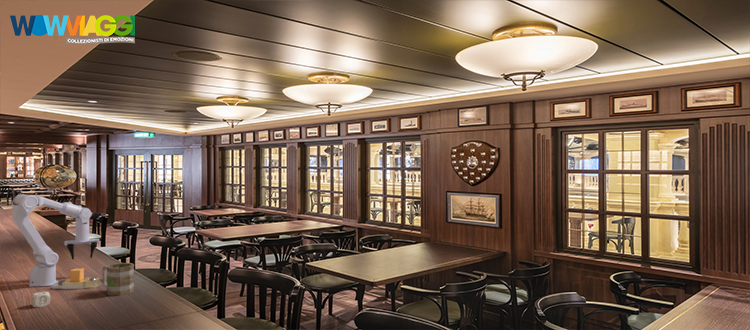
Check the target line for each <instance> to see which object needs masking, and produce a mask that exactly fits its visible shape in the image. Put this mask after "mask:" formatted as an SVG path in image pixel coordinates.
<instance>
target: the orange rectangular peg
mask: <svg viewBox="0 0 750 330" xmlns="http://www.w3.org/2000/svg"><path fill="white" fill-rule="evenodd" d="M84 278H85V268H83V267H82V268H74V269H71V270H70V271H69V279H70V282H80V281H83V280H84Z"/></svg>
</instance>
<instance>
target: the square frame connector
mask: <svg viewBox="0 0 750 330" xmlns="http://www.w3.org/2000/svg"><path fill="white" fill-rule="evenodd" d="M57 281H58V283H56V284H54V285H52V286H51V289H52V290H83V289H94V288H95V289H96V288H97V287H99V286H100V285H102V277H89V276H88V277H84V280H83V281H80V282H70V278H69V279H67V280H65V279H59V280H57Z"/></svg>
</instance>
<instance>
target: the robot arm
mask: <svg viewBox="0 0 750 330" xmlns="http://www.w3.org/2000/svg"><path fill="white" fill-rule="evenodd" d="M42 206H43V207H47V208H50V209H51V208H52V209H54V210H58V211H59V213H60V214H62V215H66V216H69V217H72V218H74V219H75V239H73V240H64V246H66V248H67V250H68V251H69V253H70V256H71V260H74V259H75V245H86V244H90V254H89V258H90V259H92V258H93V255H94V252H95V251H94V250H95V249H96V247H97V244H100V238H90V218H91V217H92V214H93V213H92V211H91V209H90V208H88V207H82V205H80V204H79V205H76V204H73V202H71V201H68V202H67V201H64V202H57V201H56V200H52V199H49V198H46V197H44V196H38V195H34V194H22V193H21V194H18V195H16V196H15V197H14V198H13V200H12V201H11V207H12V210H11V219H12V220H13V221H14V223H15V225H16V226H17V228H18V229H19V231H20V232H21V234H22V235H23V237H24V238H25V240H26V241H27V243H28V244H29V246H30V247H31V249H32V250H33V251H32V254H33V255H34V262H36V263H37V264H36V265H33V266H32V267H31V268H30V271H29V285H28V287H30V288H31V287H52V286H53V285H55V284H57V283H58V281H59V280H57V274H56V273H57V263H58V261H59V259H60V258H59V255H58V253H57V252H54V251H53V250H52V248H51V247H49V246H48V245H47V244H46V242H45V241H44V239H43V238H42V236H41V235H40V233H39V232H38V230H37V228H36V227H35V226H34V224H33V222H32V220H31V219H30V218H29V217H30V214H31V212H33V211H34V209H35V208H37V207H42Z"/></svg>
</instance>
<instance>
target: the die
mask: <svg viewBox="0 0 750 330" xmlns="http://www.w3.org/2000/svg"><path fill="white" fill-rule="evenodd" d="M50 303H51V293H50V292H49V291H39V292H35V293H33V294H32V297H31V304H32V307H33V308H43V307H47V306H49V304H50Z"/></svg>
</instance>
